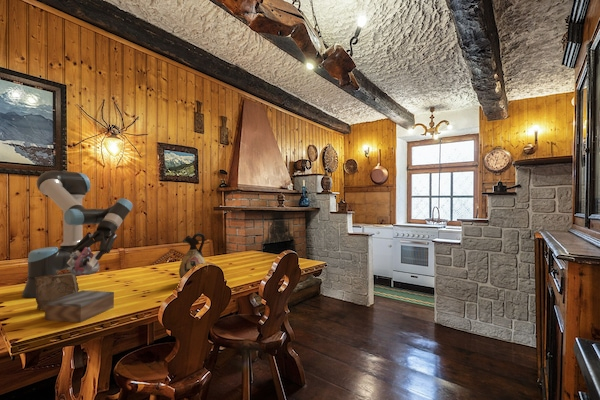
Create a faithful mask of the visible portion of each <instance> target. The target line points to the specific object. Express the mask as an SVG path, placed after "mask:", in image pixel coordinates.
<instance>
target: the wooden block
mask: <svg viewBox="0 0 600 400" xmlns="http://www.w3.org/2000/svg"><path fill="white" fill-rule="evenodd" d="M114 297H115V292H114V291H105V290H104V291H103V290H100V291H99V290H80V291H79V290H78V292H76V293H73V294H70V295H67V296H64V297H61V298H58V299H54V300H51V301H48V302H45V310H44V321H52V322H65V321H66V322H67V323H83V322H84V321H87V320H89V319H91V318H94V317H96V316H98V315H101V314H103V313H105V312H107V311H109V310H111V309H113V308H114V307H115V306H114V303H115V298H114Z"/></svg>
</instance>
